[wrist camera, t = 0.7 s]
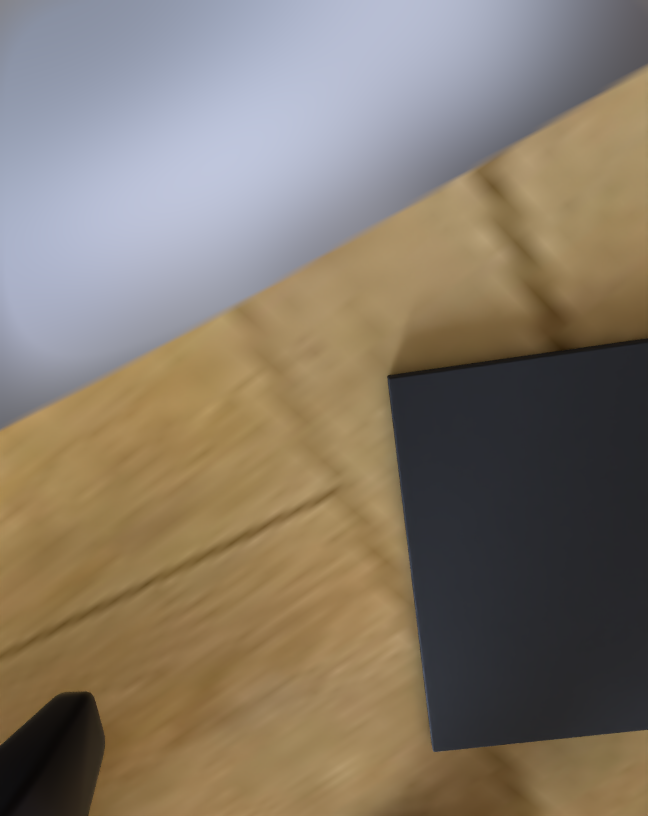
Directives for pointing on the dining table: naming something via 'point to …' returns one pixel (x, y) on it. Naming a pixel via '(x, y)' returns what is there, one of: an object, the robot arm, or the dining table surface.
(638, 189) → the dining table surface
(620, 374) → the placemat
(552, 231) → the dining table surface
